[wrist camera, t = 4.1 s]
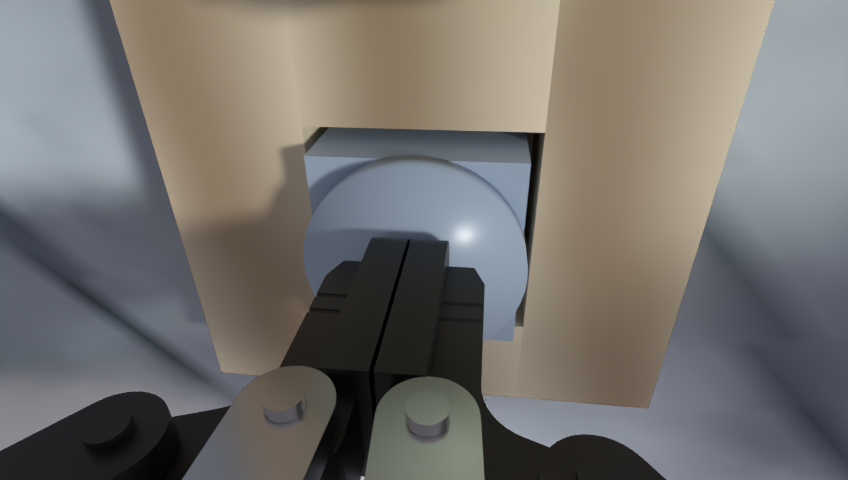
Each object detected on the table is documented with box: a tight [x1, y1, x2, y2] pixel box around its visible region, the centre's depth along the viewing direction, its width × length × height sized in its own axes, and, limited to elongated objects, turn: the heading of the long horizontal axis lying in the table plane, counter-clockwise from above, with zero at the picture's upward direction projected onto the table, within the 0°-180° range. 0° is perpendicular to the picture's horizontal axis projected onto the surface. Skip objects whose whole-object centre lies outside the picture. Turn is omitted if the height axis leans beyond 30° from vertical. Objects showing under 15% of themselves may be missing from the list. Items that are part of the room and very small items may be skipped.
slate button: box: [303, 127, 531, 342], centre depth 12 cm, size 5×5×3 cm
